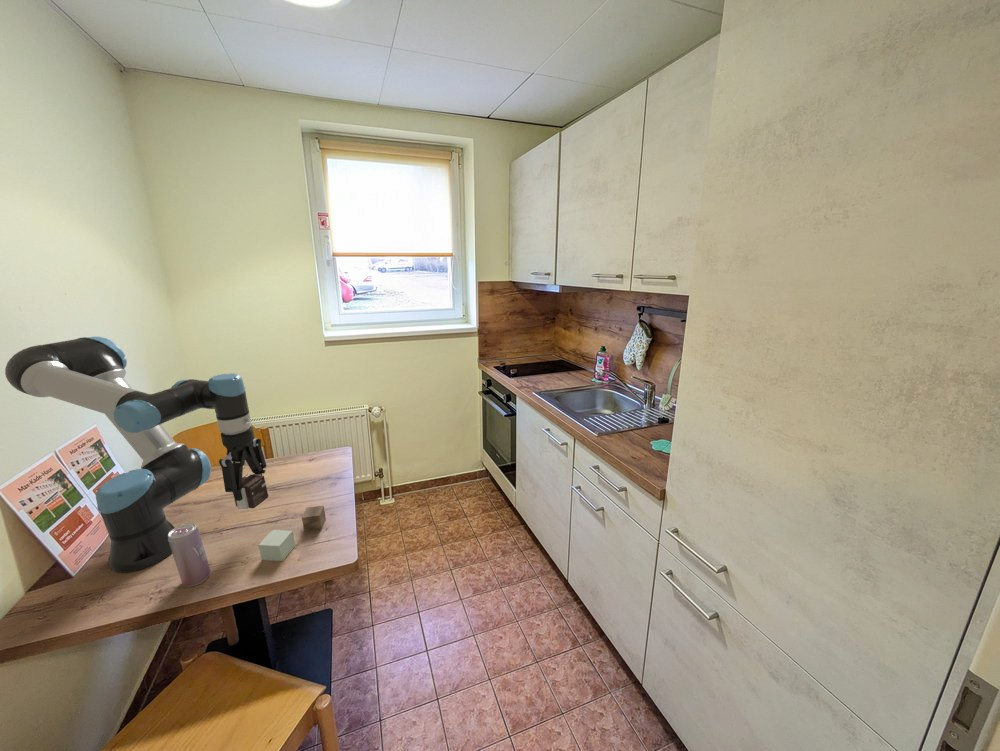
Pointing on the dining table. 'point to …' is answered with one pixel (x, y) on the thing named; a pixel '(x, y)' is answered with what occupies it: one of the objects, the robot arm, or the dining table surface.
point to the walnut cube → (313, 518)
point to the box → (254, 489)
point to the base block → (277, 545)
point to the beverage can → (189, 554)
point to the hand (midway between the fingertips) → (252, 500)
